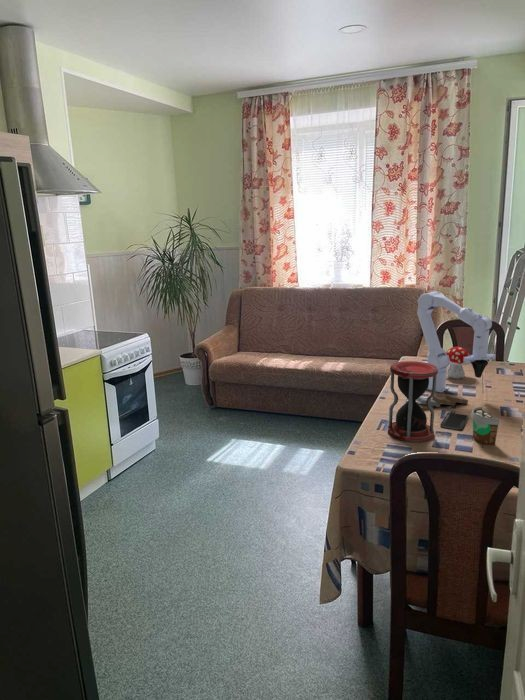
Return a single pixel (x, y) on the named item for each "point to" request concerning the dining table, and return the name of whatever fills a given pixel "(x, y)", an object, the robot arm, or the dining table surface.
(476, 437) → the food container
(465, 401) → the domino
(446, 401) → the domino
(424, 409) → the domino
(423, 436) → the hourglass
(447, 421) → the phone
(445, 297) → the robot arm
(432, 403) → the domino
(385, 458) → the dining table surface
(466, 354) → the decorative mushroom
